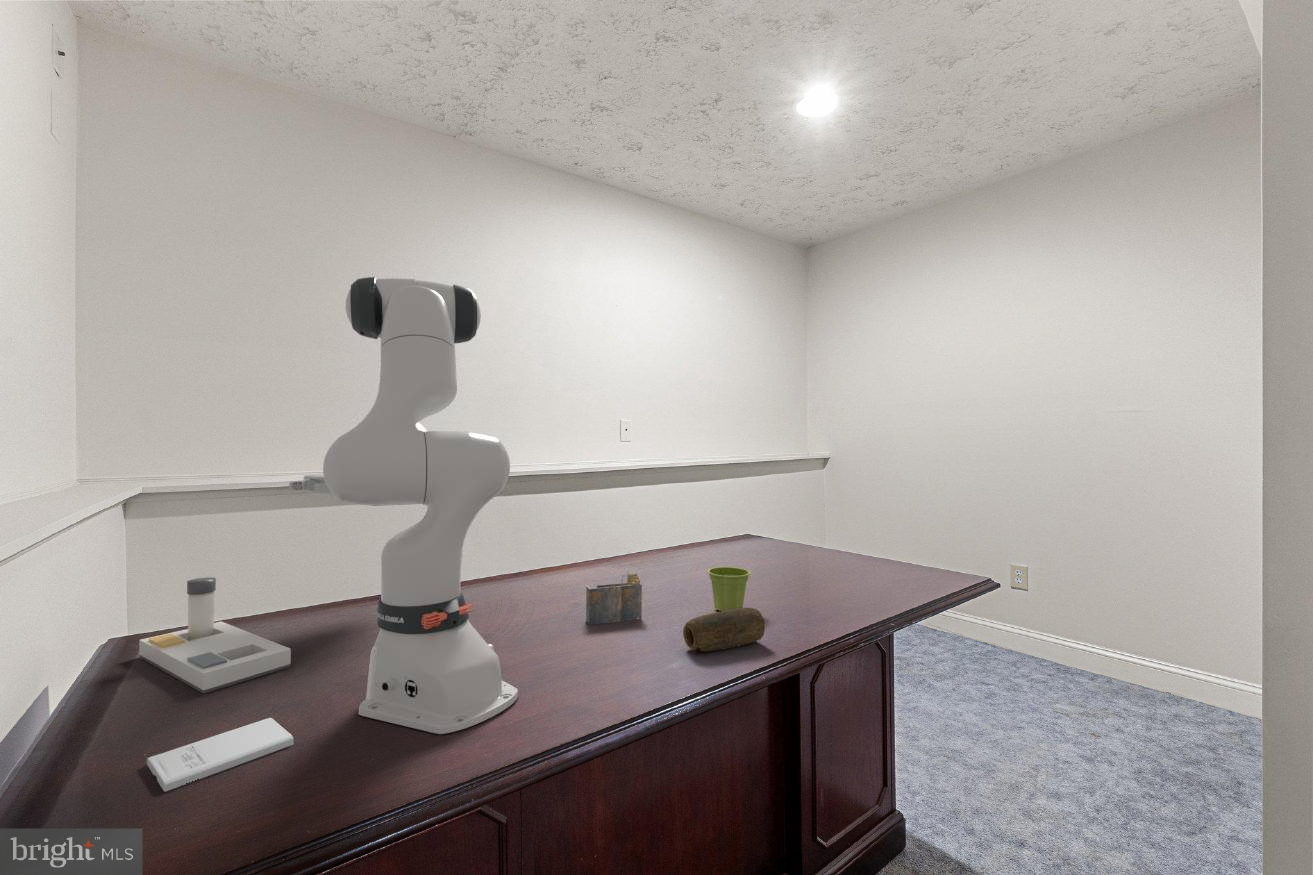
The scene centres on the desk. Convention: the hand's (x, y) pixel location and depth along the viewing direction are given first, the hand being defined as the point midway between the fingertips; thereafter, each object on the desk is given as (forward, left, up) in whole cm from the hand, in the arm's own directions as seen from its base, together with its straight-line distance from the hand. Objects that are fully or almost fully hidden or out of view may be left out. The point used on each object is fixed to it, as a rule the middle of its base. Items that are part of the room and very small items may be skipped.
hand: (302, 487), depth 115 cm
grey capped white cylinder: (+2, +16, -27) cm, 32 cm away
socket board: (-6, +17, -28) cm, 33 cm away
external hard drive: (-40, +29, -29) cm, 57 cm away
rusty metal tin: (-49, -38, -29) cm, 68 cm away
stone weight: (-75, -37, -28) cm, 88 cm away
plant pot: (-66, -58, -28) cm, 92 cm away
